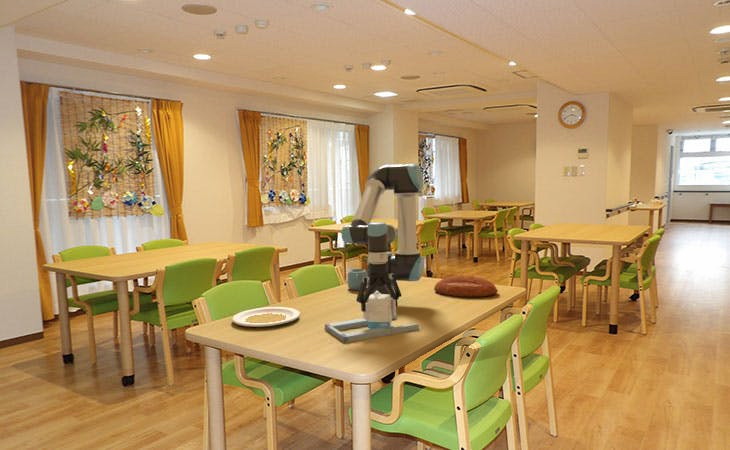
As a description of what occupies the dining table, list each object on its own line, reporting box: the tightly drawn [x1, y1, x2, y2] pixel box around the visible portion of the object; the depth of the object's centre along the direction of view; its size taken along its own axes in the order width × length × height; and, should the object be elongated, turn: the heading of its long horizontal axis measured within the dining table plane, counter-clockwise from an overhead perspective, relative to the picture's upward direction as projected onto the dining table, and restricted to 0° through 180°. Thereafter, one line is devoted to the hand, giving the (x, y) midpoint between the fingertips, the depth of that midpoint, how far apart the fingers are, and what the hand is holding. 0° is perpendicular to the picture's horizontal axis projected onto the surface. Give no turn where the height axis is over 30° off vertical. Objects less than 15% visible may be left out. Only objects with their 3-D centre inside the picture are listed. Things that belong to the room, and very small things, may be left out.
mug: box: [347, 268, 368, 291], centre depth 268 cm, size 15×11×10 cm
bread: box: [433, 274, 499, 298], centre depth 253 cm, size 22×32×9 cm
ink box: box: [367, 290, 393, 329], centre depth 197 cm, size 9×8×13 cm
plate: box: [232, 306, 301, 328], centre depth 214 cm, size 28×28×2 cm
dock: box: [324, 313, 420, 344], centre depth 196 cm, size 19×32×2 cm, turn 116°
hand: (379, 317), depth 198 cm, fingers closed on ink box, 11 cm apart
